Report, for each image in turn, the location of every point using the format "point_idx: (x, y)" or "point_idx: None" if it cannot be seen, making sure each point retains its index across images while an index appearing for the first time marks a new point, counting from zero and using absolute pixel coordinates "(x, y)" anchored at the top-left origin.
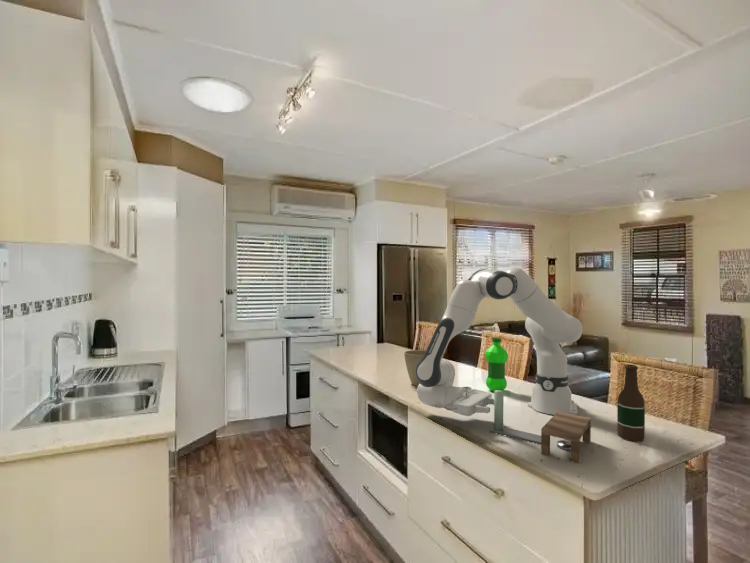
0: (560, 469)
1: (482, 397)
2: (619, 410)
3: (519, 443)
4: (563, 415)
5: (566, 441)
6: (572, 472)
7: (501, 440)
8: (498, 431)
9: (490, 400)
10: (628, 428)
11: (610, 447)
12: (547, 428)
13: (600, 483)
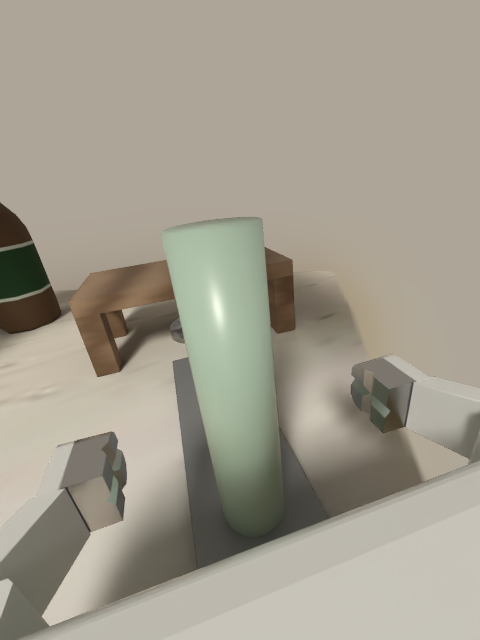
0: (321, 296)
1: (175, 622)
2: (11, 264)
3: (293, 378)
4: (108, 287)
5: (177, 328)
6: (309, 290)
7: (345, 418)
8: (291, 473)
9: (25, 595)
10: (48, 292)
11: (126, 313)
12: (274, 259)
13: (300, 275)
